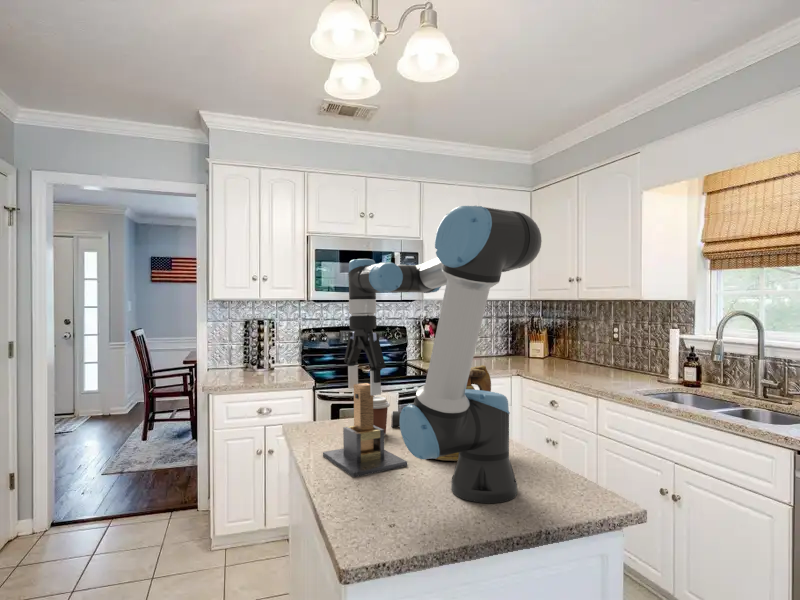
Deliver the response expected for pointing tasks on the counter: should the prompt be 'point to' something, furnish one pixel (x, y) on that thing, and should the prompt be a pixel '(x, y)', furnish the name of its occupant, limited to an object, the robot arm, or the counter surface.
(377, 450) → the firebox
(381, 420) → the coffee cup
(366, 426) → the tapered wooden post
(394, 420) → the flashlight
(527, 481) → the counter surface
